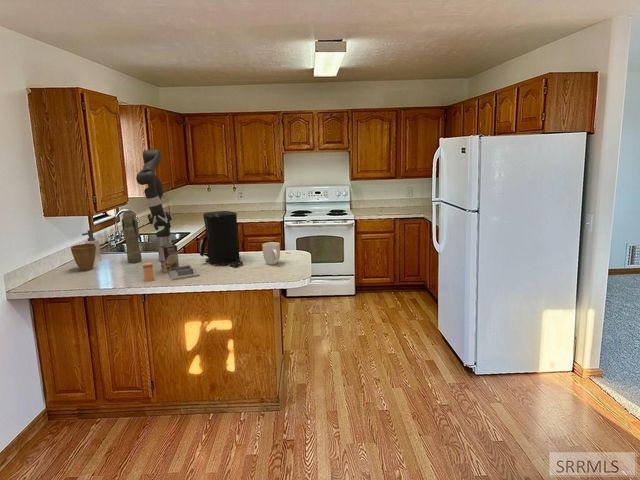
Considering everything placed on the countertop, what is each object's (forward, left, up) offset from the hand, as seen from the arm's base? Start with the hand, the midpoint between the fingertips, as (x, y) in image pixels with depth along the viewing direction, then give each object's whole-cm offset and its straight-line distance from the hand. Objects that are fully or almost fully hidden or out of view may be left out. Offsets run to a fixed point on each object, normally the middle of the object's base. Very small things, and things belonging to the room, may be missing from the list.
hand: (163, 228), depth 290 cm
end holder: (+13, +8, -27) cm, 31 cm away
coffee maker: (-1, +34, -28) cm, 44 cm away
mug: (+20, +63, -28) cm, 71 cm away
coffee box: (-1, +2, -28) cm, 28 cm away
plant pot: (-35, -48, -28) cm, 65 cm away
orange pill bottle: (+13, -12, -27) cm, 33 cm away
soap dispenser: (-57, -45, -28) cm, 78 cm away
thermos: (-38, -18, -28) cm, 50 cm away
